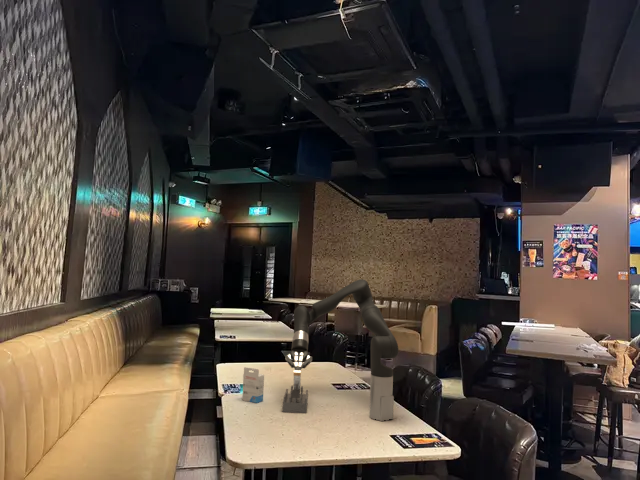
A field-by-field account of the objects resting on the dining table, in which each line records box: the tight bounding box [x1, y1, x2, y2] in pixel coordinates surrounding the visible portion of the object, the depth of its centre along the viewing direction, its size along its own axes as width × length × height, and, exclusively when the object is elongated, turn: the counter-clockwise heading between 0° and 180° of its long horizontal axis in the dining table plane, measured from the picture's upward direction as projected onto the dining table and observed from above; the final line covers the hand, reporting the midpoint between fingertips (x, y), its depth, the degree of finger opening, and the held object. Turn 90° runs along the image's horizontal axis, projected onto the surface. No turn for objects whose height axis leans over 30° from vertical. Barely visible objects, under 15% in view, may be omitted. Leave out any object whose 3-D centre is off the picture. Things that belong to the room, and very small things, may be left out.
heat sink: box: [282, 385, 309, 414], centre depth 201 cm, size 15×10×9 cm, turn 0°
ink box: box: [241, 367, 265, 404], centre depth 209 cm, size 9×5×15 cm, turn 62°
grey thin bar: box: [293, 369, 302, 391], centre depth 204 cm, size 1×3×11 cm
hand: (297, 375), depth 204 cm, fingers closed
